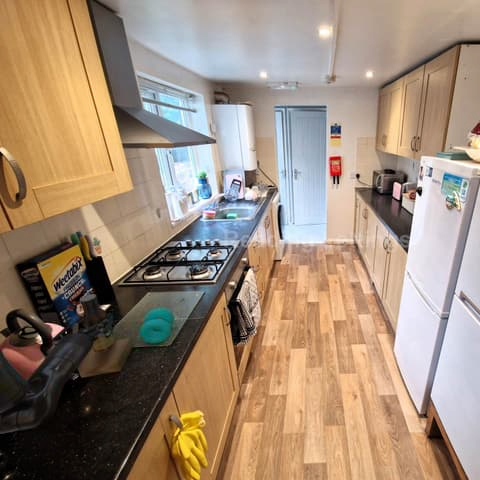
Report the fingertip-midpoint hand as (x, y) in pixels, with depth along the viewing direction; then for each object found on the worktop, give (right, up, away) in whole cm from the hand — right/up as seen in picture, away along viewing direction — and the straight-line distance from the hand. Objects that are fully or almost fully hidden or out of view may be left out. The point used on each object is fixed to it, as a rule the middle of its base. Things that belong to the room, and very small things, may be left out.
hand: (98, 317), depth 86 cm
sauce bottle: (0, -11, +2) cm, 11 cm away
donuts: (+11, -12, +16) cm, 23 cm away
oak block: (0, -16, +4) cm, 17 cm away
